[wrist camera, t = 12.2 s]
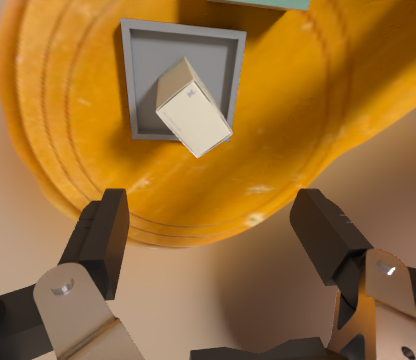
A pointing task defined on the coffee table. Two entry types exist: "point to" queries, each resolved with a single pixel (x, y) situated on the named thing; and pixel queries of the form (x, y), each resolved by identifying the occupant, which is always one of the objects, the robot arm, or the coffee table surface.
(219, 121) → the skincare box
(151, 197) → the coffee table surface
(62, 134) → the coffee table surface
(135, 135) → the tray
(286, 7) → the teal square open box
